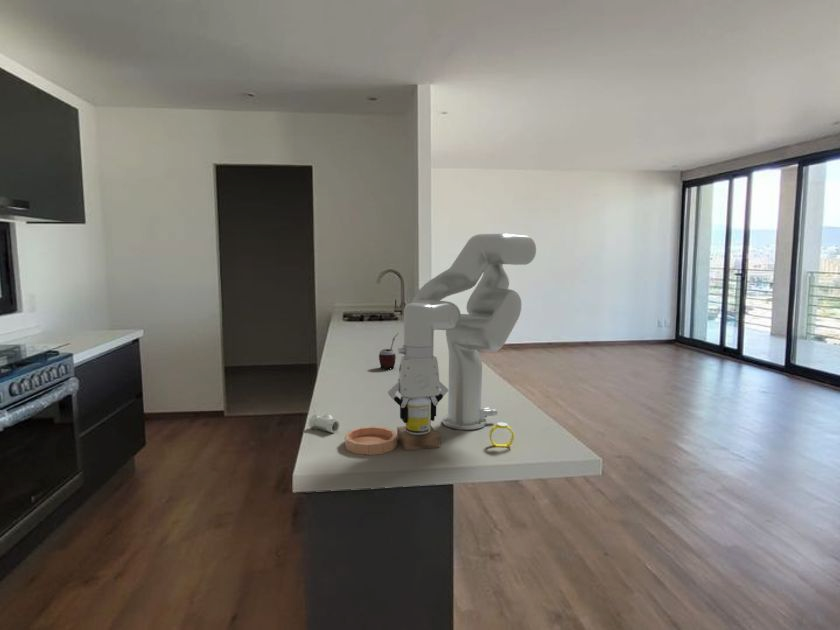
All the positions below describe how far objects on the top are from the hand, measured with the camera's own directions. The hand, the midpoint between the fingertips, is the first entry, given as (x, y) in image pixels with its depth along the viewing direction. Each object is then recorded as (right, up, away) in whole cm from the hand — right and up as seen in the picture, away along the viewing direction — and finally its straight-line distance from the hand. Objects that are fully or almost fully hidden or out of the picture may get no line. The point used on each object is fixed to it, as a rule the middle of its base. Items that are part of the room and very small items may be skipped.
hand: (418, 419), depth 130 cm
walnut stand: (0, -6, +1) cm, 6 cm away
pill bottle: (0, -3, 0) cm, 3 cm away
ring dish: (-12, -6, -1) cm, 14 cm away
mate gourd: (-13, +4, +86) cm, 87 cm away
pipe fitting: (-25, -5, +11) cm, 28 cm away
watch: (+21, -7, -1) cm, 22 cm away
